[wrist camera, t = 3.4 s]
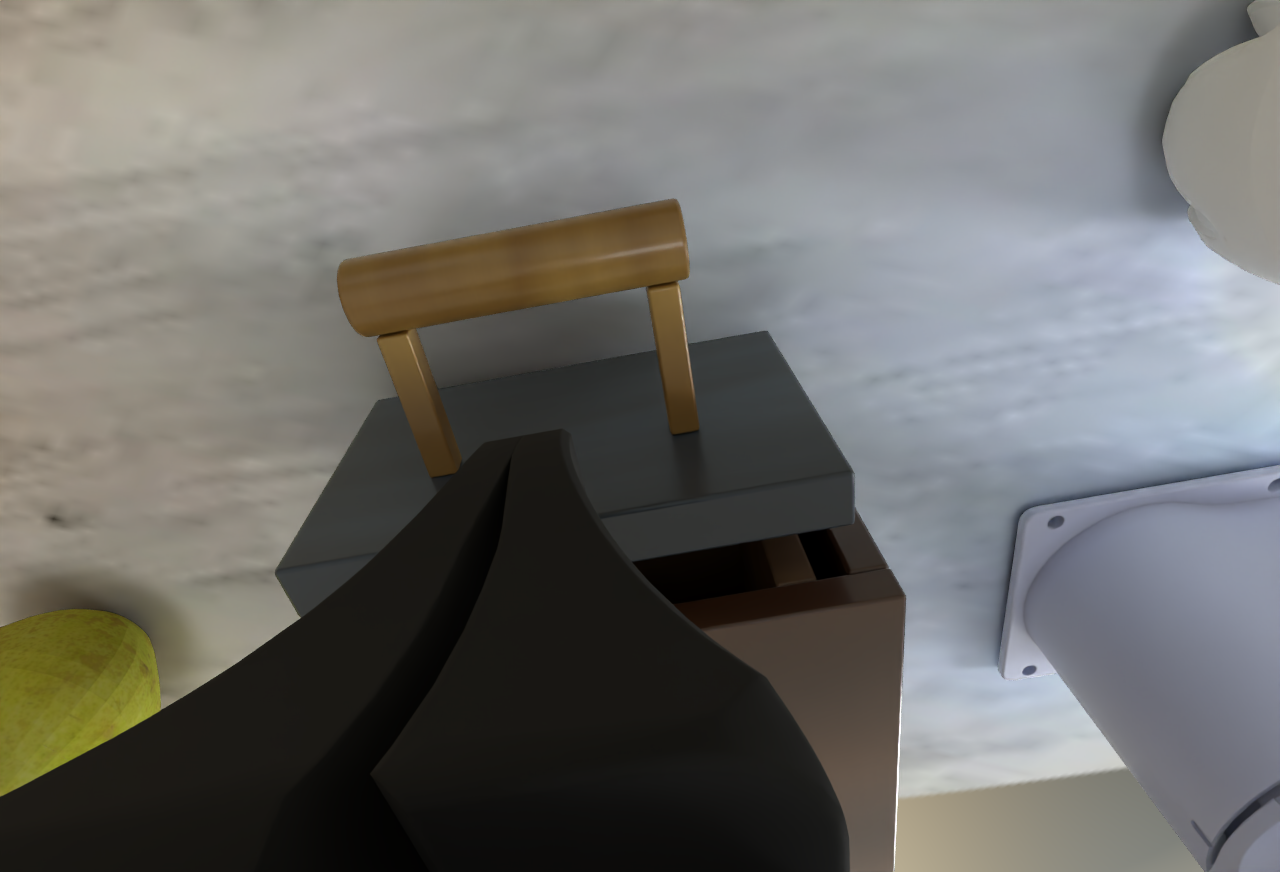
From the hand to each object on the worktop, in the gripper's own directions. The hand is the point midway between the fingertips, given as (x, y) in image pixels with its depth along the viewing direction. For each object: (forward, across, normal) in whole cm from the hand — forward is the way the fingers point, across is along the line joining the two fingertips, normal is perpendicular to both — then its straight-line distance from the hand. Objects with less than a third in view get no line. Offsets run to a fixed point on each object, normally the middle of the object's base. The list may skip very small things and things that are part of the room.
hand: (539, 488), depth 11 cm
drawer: (+7, 0, +5) cm, 9 cm away
